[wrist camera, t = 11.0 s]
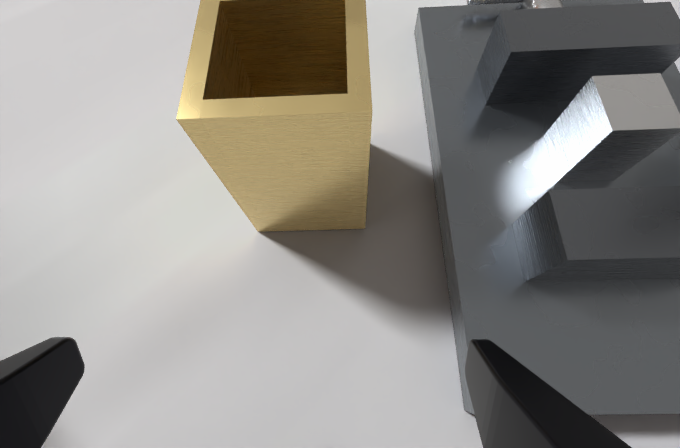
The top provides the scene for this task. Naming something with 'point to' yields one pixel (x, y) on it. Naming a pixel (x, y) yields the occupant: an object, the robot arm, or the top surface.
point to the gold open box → (283, 108)
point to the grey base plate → (561, 190)
